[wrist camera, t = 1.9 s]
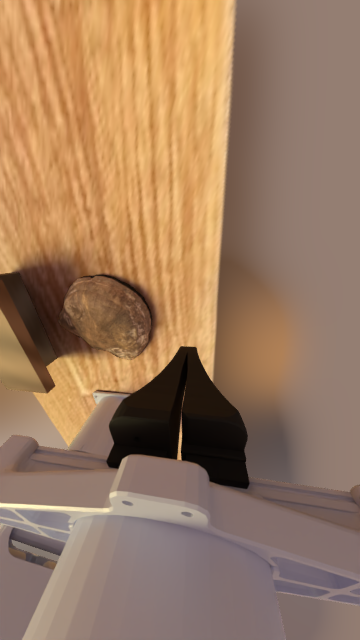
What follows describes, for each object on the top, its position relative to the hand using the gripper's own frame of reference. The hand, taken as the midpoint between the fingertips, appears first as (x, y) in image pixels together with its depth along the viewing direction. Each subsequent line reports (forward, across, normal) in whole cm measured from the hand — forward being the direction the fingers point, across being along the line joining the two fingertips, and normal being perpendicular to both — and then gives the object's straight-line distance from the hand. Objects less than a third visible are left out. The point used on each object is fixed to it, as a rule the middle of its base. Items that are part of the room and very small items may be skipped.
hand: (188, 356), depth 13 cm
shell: (+8, +11, 0) cm, 14 cm away
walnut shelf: (+8, +21, +1) cm, 22 cm away
